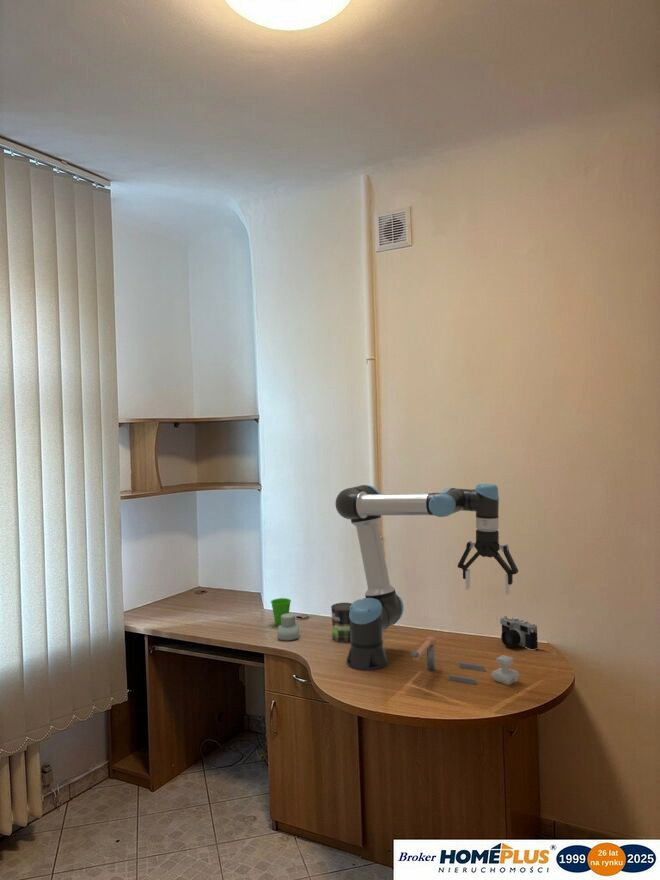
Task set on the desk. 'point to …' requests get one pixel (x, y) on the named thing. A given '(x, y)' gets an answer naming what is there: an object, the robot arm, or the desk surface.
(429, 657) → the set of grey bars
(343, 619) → the coffee can
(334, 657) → the desk surface
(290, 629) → the air freshener
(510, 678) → the stamp
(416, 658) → the ball-knob lever
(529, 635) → the camera
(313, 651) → the desk surface
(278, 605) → the cup
